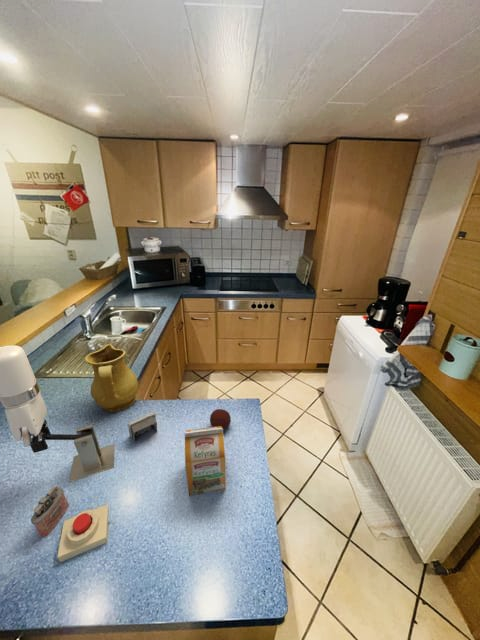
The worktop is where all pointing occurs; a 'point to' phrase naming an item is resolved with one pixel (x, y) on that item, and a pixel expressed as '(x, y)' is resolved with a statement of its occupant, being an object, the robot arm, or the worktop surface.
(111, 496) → the worktop surface
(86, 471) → the bracket
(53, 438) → the lever
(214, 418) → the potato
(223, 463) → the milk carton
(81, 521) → the button
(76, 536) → the control box
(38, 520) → the lighter
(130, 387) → the pitcher
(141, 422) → the electrical switch
